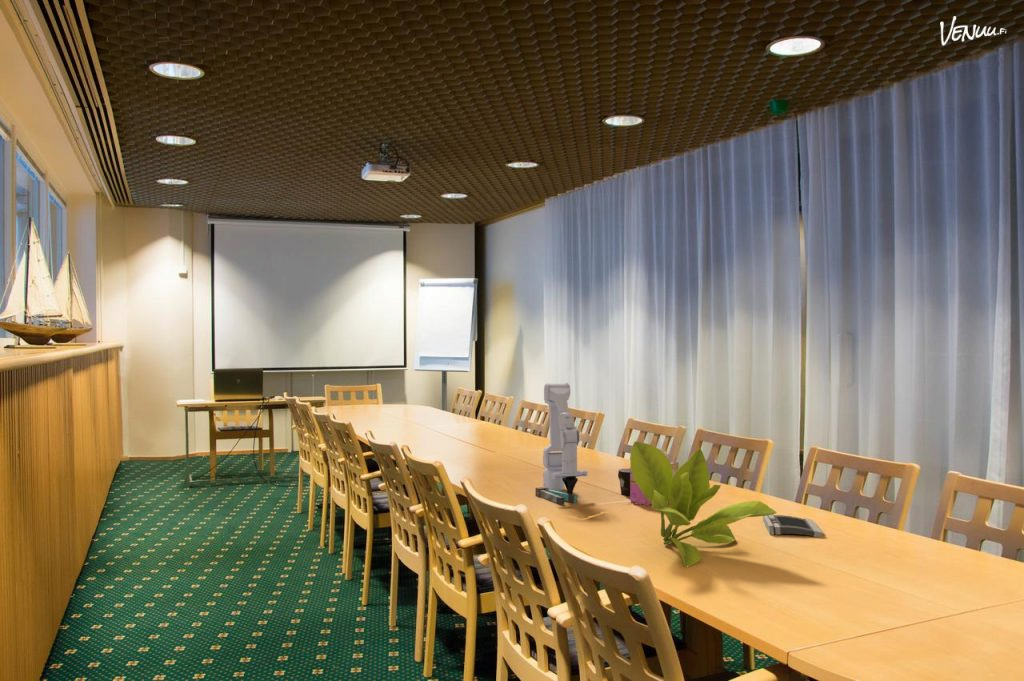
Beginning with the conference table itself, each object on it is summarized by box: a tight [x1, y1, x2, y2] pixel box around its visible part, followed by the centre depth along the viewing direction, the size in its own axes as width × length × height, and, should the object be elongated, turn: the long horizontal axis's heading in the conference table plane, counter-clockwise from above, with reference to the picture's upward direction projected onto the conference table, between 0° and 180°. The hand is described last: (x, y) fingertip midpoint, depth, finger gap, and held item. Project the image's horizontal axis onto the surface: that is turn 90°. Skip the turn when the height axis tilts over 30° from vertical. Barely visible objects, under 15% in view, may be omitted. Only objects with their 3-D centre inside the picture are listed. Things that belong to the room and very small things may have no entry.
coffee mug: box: [617, 467, 630, 497], centre depth 299 cm, size 12×9×10 cm
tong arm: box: [548, 490, 578, 504], centre depth 287 cm, size 14×2×3 cm, turn 41°
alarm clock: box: [762, 514, 824, 538], centre depth 245 cm, size 17×5×16 cm
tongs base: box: [534, 486, 565, 506], centre depth 288 cm, size 19×4×4 cm, turn 26°
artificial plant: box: [629, 441, 777, 568], centre depth 224 cm, size 42×43×30 cm
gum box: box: [629, 461, 680, 506], centre depth 291 cm, size 24×8×14 cm, turn 136°
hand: (569, 496), depth 286 cm, fingers closed, pressing on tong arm
